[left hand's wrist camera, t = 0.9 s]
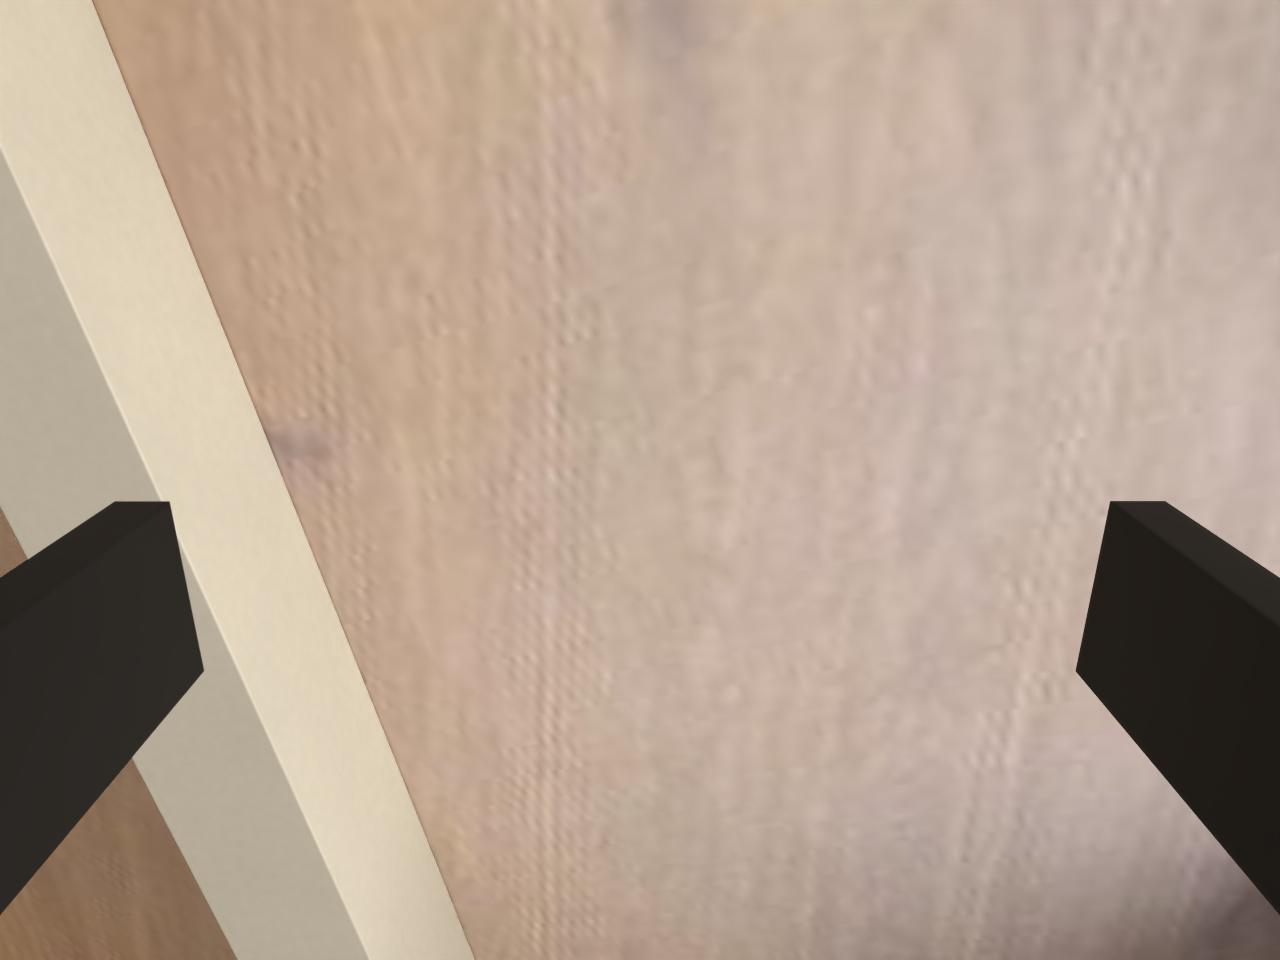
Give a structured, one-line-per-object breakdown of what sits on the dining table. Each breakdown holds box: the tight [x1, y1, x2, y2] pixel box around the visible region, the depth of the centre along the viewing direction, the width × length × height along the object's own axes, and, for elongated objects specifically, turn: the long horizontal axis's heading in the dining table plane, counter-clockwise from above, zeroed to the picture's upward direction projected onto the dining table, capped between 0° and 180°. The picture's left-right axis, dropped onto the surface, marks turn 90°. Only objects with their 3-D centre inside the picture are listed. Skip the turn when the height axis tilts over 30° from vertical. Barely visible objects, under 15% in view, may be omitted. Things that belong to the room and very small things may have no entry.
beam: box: [0, 0, 475, 960], centre depth 33 cm, size 70×5×8 cm, turn 13°
